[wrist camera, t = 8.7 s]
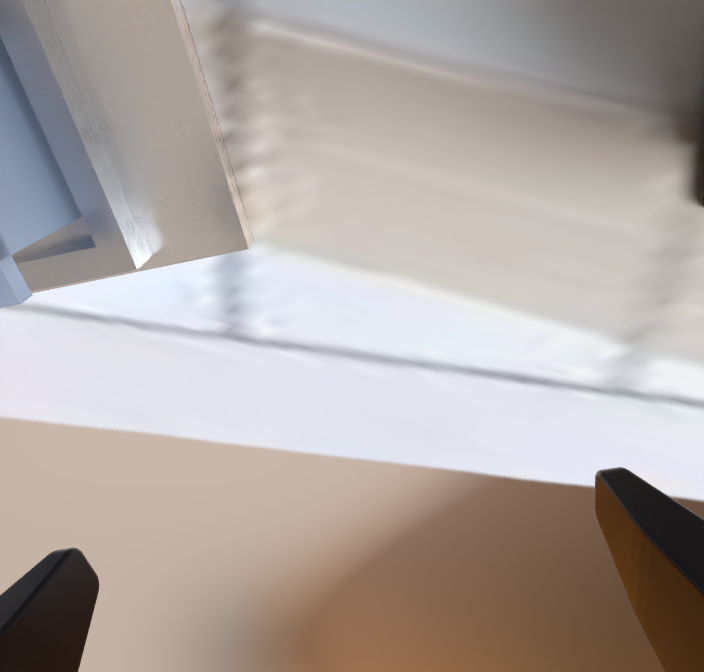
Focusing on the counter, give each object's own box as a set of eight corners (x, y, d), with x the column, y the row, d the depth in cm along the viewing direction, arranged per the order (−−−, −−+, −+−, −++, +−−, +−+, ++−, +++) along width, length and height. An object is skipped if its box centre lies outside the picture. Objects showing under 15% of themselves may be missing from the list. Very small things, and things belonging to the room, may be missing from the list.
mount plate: (148, -103, 14) (115, -129, 12) (253, 240, 19) (241, 260, 17) (-224, 3, 16) (-308, -6, 14) (-42, 300, 20) (-85, 326, 18)
